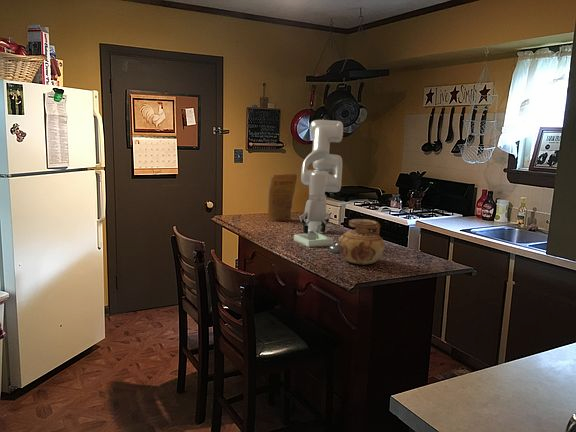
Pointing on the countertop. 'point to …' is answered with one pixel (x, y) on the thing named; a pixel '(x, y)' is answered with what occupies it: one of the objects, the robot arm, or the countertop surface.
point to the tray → (319, 241)
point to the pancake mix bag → (281, 197)
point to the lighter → (313, 233)
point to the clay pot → (362, 242)
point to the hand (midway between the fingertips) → (314, 232)
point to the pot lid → (334, 248)
